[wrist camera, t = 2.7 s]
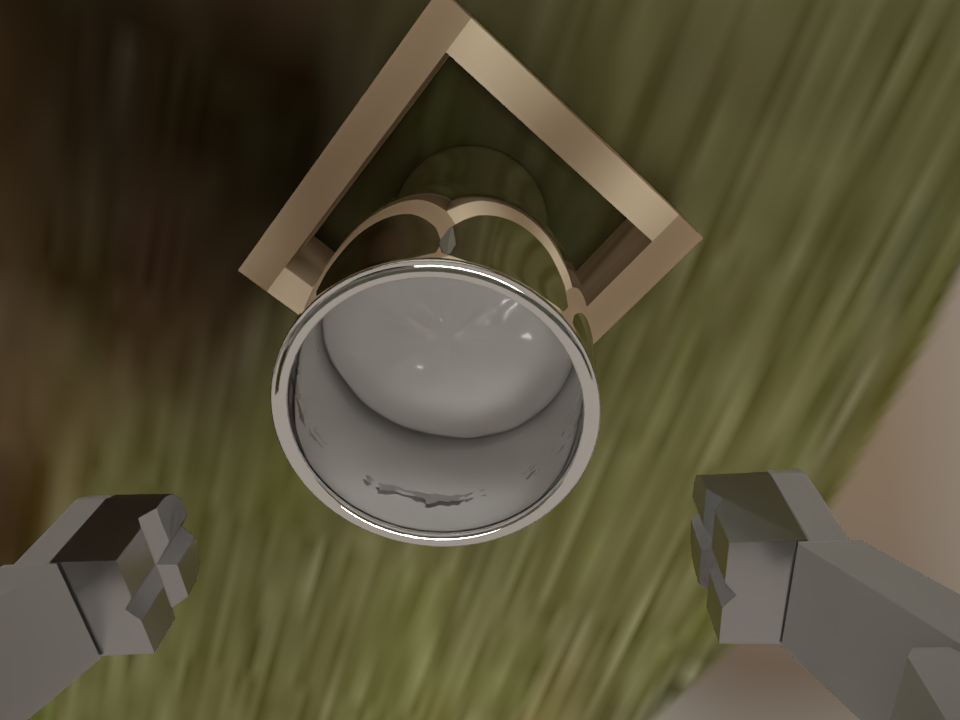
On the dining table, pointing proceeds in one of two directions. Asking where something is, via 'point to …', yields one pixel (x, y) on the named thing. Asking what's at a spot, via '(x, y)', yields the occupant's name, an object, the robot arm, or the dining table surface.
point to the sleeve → (455, 32)
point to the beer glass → (443, 362)
